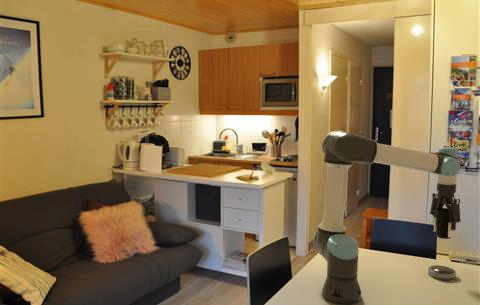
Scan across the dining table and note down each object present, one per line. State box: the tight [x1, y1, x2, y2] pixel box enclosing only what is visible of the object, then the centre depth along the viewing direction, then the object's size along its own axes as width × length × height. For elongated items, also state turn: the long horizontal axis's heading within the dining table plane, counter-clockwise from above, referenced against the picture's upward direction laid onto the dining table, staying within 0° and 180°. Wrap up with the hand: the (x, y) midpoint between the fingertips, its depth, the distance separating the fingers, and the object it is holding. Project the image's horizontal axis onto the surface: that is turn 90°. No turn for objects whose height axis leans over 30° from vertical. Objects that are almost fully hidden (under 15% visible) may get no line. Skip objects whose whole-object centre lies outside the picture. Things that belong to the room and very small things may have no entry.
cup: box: [436, 207, 454, 240], centre depth 187 cm, size 8×8×12 cm
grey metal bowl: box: [427, 265, 457, 282], centre depth 189 cm, size 11×11×3 cm
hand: (443, 234), depth 187 cm, fingers closed on cup, 8 cm apart
